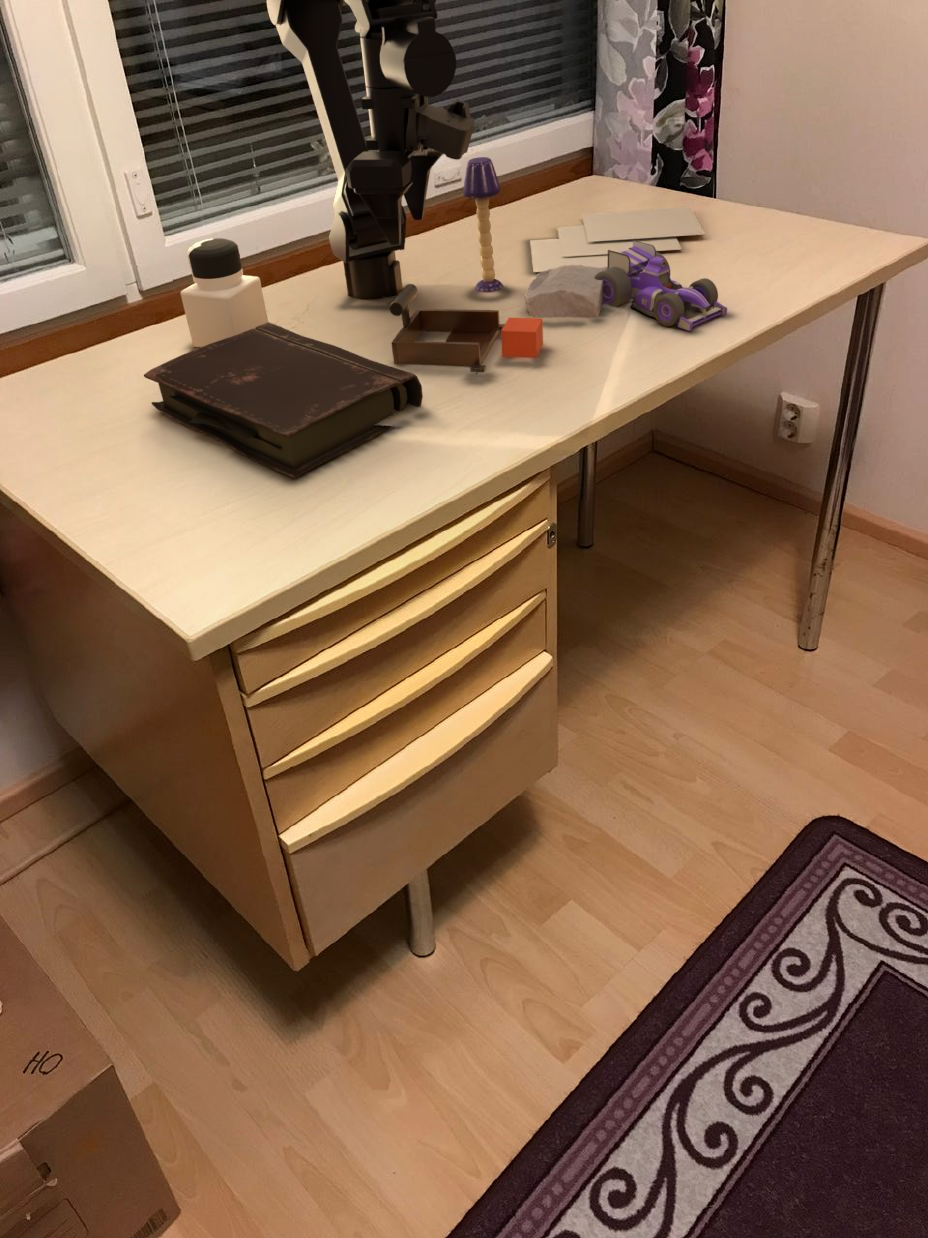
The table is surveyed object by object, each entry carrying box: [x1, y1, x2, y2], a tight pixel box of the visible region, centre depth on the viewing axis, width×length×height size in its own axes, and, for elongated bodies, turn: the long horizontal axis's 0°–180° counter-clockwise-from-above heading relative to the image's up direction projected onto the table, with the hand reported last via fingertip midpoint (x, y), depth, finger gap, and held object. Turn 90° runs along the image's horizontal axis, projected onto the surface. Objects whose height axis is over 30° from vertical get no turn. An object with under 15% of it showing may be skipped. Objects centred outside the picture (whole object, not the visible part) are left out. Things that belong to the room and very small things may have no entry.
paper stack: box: [529, 205, 706, 273], centre depth 146 cm, size 23×25×1 cm
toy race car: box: [594, 240, 728, 332], centre depth 122 cm, size 10×15×6 cm, turn 40°
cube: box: [500, 317, 544, 359], centre depth 115 cm, size 4×4×4 cm
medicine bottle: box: [180, 237, 269, 348], centre depth 123 cm, size 7×7×12 cm
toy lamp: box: [462, 156, 505, 293], centre depth 128 cm, size 5×5×17 cm
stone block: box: [524, 265, 607, 319], centre depth 126 cm, size 12×5×10 cm
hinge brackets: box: [469, 323, 505, 375], centre depth 116 cm, size 2×14×1 cm, turn 166°
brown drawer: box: [389, 283, 501, 368], centre depth 116 cm, size 11×10×7 cm
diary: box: [143, 321, 424, 479], centre depth 107 cm, size 19×25×5 cm
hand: (407, 231), depth 117 cm, fingers open, 9 cm apart
